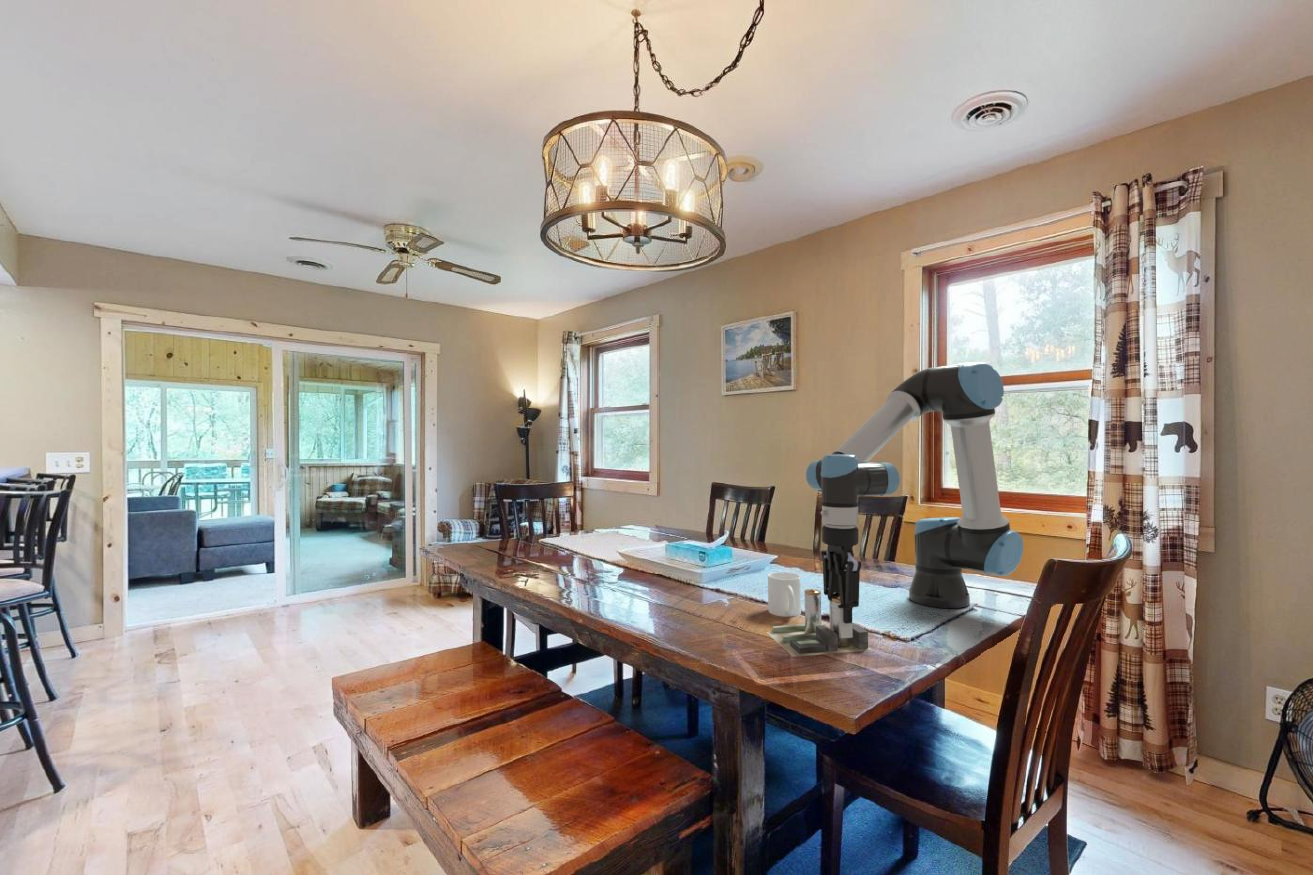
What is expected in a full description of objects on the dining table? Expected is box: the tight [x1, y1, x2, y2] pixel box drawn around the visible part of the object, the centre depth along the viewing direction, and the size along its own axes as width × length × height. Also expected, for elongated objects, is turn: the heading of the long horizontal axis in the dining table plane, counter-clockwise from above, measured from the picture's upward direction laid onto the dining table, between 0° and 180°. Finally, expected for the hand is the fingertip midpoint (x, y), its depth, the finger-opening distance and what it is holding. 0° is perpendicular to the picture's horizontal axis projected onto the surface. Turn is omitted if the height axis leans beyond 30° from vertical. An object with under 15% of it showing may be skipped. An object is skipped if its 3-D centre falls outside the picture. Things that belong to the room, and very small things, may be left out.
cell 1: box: [804, 588, 822, 634], centre depth 129 cm, size 4×4×10 cm
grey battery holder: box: [765, 622, 873, 658], centre depth 125 cm, size 18×15×4 cm
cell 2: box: [832, 596, 850, 647], centre depth 122 cm, size 4×4×10 cm
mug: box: [767, 571, 802, 618], centre depth 145 cm, size 12×8×10 cm
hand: (840, 633), depth 122 cm, fingers closed on cell 2, 3 cm apart
